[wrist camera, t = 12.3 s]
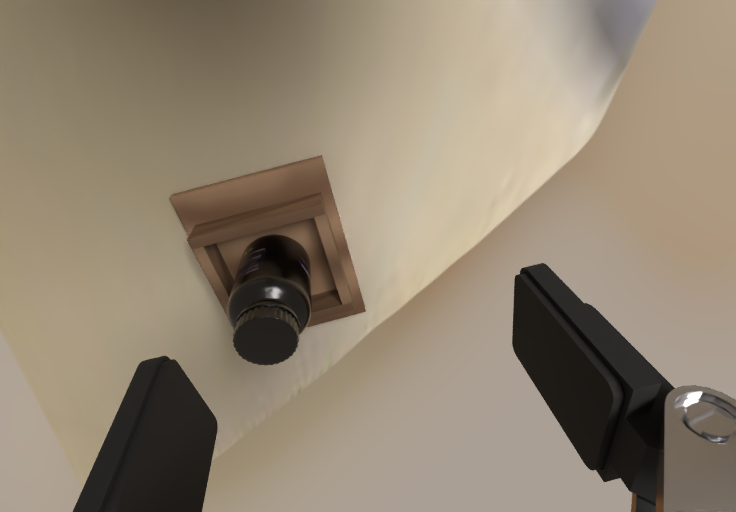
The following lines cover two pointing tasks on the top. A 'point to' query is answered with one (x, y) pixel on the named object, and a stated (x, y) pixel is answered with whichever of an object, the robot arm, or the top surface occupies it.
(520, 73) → the top surface
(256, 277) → the supplement bottle
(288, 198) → the bottle cradle
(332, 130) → the top surface
